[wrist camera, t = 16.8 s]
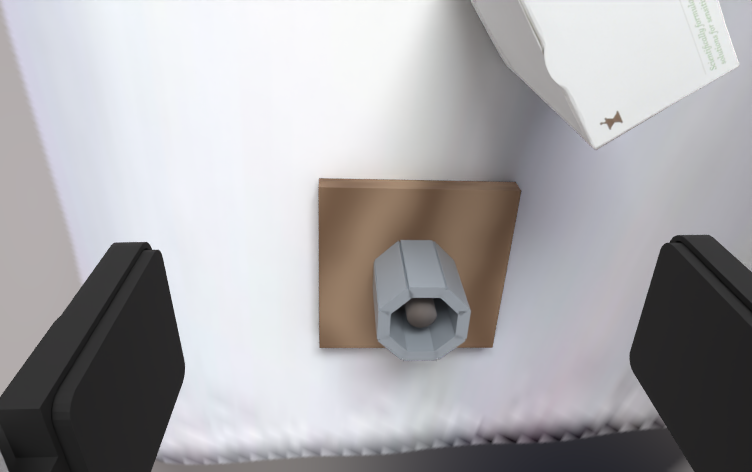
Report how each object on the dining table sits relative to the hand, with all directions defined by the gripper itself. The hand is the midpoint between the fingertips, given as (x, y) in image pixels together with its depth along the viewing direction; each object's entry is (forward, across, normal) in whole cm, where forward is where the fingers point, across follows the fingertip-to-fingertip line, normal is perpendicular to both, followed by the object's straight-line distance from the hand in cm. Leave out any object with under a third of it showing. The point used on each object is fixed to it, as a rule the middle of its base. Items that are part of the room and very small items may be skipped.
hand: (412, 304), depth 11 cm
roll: (+26, -3, +17) cm, 32 cm away
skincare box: (+28, -9, -3) cm, 30 cm away
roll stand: (+28, -3, +17) cm, 33 cm away
